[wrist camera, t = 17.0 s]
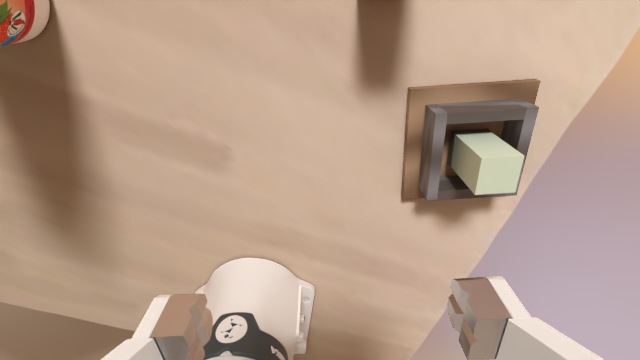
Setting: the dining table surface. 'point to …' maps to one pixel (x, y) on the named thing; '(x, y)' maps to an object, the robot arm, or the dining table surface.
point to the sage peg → (484, 161)
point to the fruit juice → (22, 19)
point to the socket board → (461, 113)
